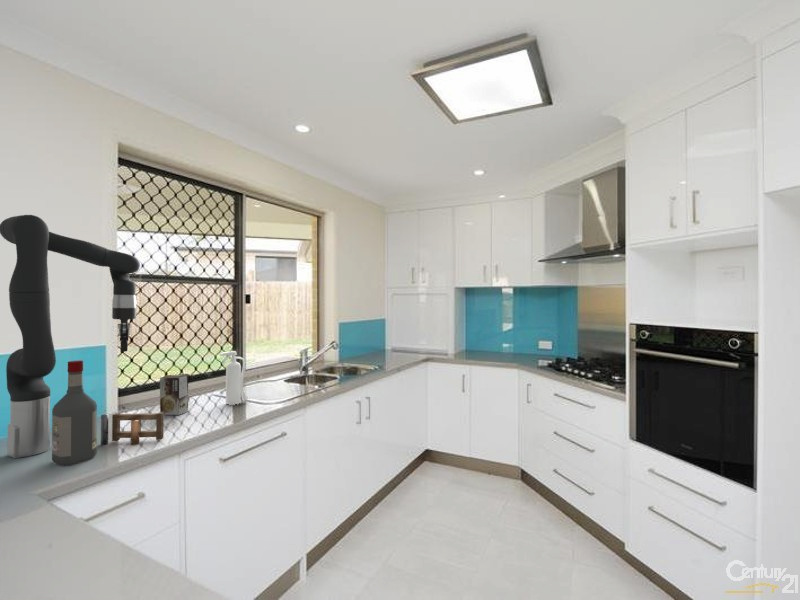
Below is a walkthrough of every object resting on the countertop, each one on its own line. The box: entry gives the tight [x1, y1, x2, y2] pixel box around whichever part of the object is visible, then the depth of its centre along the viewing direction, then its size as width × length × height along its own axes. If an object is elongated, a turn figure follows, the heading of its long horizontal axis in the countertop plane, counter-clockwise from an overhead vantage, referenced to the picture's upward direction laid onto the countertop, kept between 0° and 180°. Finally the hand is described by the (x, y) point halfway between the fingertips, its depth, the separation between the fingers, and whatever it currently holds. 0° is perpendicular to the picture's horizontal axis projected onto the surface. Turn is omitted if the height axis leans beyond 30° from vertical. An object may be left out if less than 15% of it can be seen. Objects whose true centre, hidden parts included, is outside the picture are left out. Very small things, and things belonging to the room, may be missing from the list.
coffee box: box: [159, 374, 189, 416], centre depth 167 cm, size 9×6×16 cm
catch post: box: [130, 419, 140, 446], centre depth 130 cm, size 2×2×8 cm
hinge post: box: [100, 413, 109, 446], centre depth 130 cm, size 2×2×10 cm
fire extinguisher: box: [219, 350, 250, 406], centre depth 183 cm, size 7×12×25 cm, turn 108°
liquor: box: [51, 360, 98, 467], centre depth 117 cm, size 9×9×30 cm
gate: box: [111, 411, 165, 442], centre depth 133 cm, size 16×2×9 cm, turn 96°
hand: (123, 351), depth 149 cm, fingers closed
